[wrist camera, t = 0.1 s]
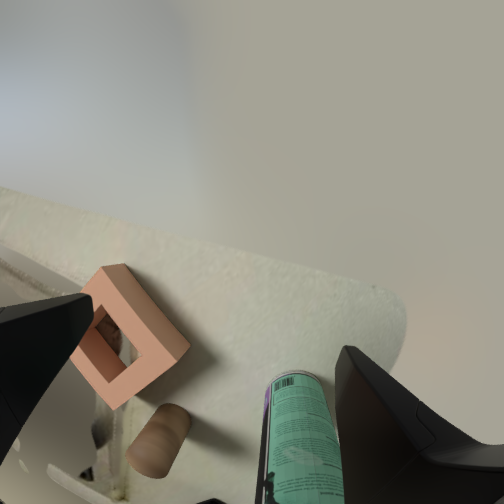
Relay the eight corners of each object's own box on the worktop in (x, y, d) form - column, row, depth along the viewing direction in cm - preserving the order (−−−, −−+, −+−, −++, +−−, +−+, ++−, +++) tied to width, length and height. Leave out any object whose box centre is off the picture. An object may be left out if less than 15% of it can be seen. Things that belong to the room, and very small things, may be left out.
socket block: (130, 393, 26) (113, 410, 22) (73, 321, 26) (50, 330, 22) (191, 345, 25) (177, 361, 21) (123, 263, 25) (100, 266, 21)
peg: (175, 436, 26) (150, 482, 18) (149, 412, 26) (117, 454, 18) (199, 423, 25) (177, 472, 17) (172, 397, 25) (141, 441, 17)
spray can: (254, 401, 25) (221, 590, 5) (285, 359, 24) (295, 568, 4) (300, 423, 24) (316, 600, 4) (333, 384, 24) (397, 566, 4)
